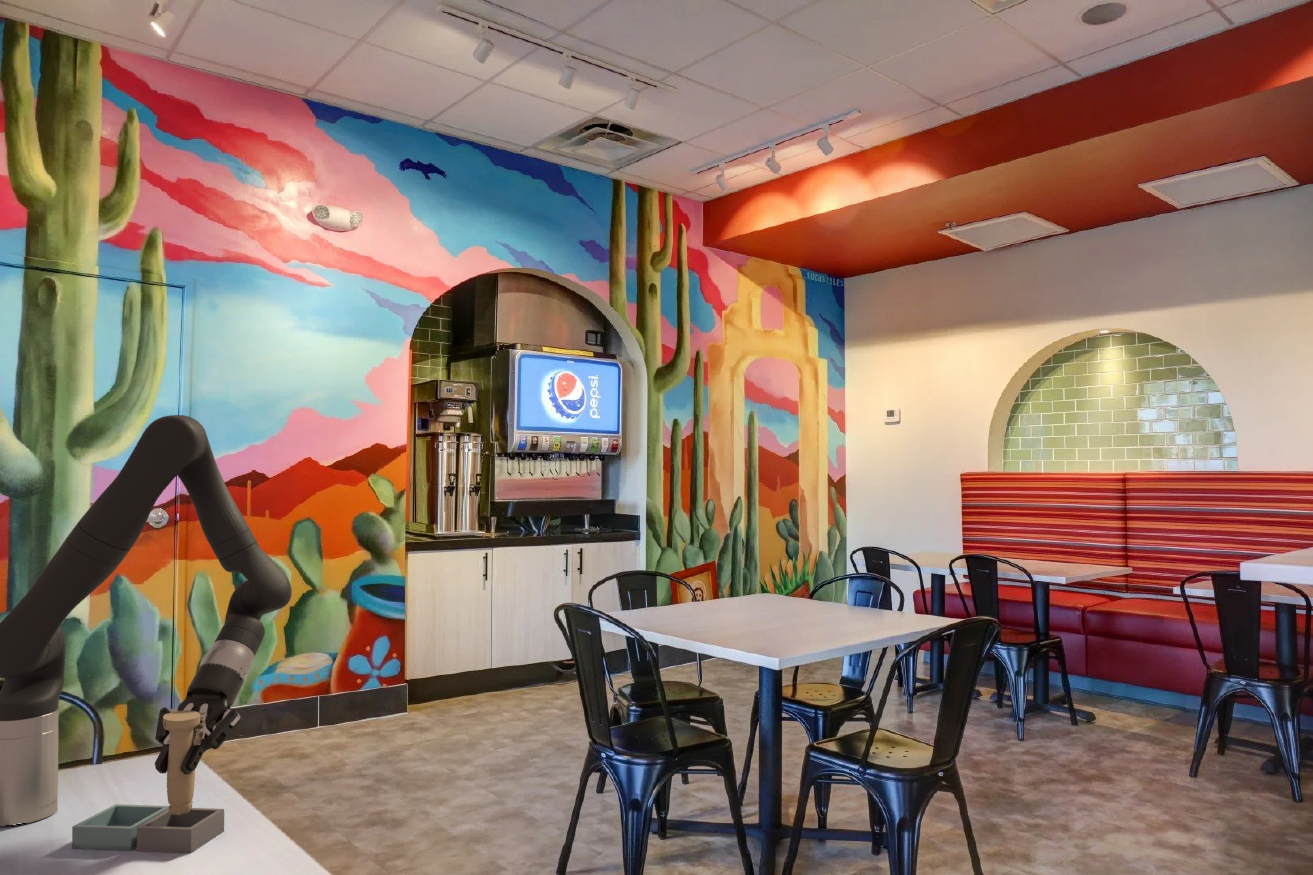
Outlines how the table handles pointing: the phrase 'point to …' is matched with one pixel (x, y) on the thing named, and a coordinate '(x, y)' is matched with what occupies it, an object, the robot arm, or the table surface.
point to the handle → (180, 760)
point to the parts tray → (114, 827)
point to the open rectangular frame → (180, 831)
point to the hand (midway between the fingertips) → (172, 771)
